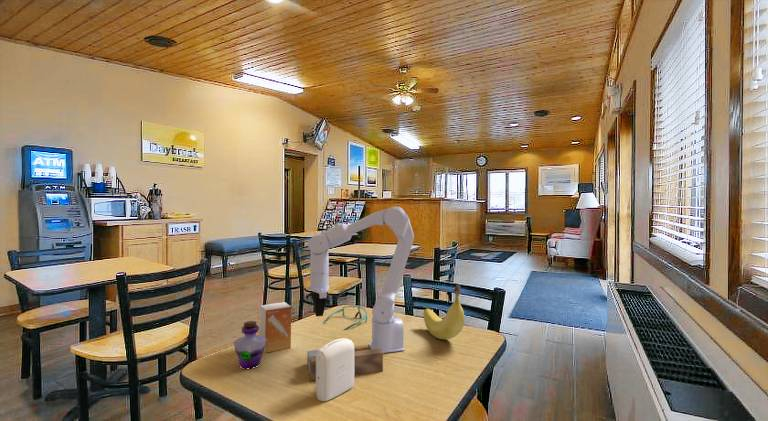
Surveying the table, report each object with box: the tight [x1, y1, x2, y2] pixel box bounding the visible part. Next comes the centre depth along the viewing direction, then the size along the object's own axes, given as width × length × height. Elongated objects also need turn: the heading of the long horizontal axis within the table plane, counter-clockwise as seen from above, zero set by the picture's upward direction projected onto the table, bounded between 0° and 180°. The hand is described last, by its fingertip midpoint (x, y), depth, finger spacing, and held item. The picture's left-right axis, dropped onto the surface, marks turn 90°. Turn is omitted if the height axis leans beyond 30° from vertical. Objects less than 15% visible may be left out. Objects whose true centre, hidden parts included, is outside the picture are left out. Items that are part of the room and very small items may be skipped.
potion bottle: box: [233, 320, 267, 370], centre depth 104 cm, size 9×9×12 cm
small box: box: [259, 301, 292, 353], centre depth 116 cm, size 8×6×13 cm
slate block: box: [306, 349, 319, 373], centre depth 102 cm, size 6×7×4 cm
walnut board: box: [309, 349, 384, 382], centre depth 100 cm, size 19×3×5 cm, turn 108°
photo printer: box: [315, 337, 355, 402], centre depth 90 cm, size 10×4×12 cm, turn 140°
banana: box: [422, 284, 465, 340], centre depth 126 cm, size 23×6×20 cm, turn 22°
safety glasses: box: [323, 304, 368, 331], centre depth 141 cm, size 14×15×5 cm
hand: (319, 315), depth 118 cm, fingers closed
